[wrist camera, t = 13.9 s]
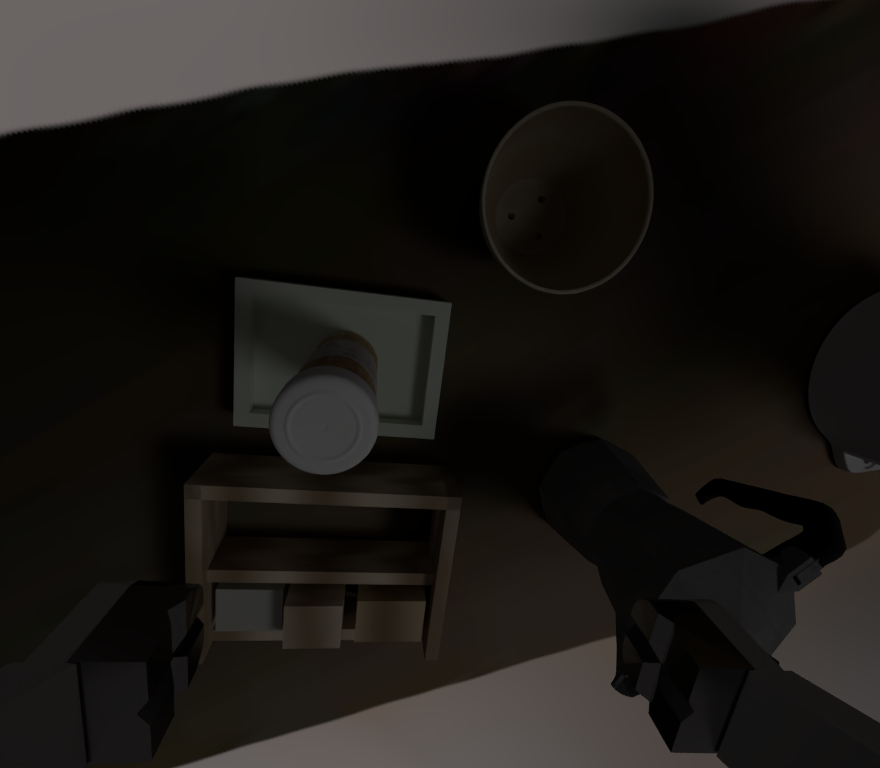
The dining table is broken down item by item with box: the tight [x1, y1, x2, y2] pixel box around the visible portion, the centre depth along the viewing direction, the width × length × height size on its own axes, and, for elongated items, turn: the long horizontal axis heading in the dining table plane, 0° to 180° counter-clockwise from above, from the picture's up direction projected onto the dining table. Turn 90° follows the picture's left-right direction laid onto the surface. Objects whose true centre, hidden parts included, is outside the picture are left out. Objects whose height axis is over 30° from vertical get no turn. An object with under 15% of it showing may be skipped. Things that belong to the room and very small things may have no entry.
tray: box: [233, 277, 452, 439], centre depth 31 cm, size 14×10×2 cm
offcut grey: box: [216, 582, 291, 631], centre depth 33 cm, size 5×4×4 cm
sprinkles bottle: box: [269, 332, 379, 475], centre depth 24 cm, size 5×5×13 cm
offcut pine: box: [283, 583, 346, 649], centre depth 33 cm, size 4×4×6 cm
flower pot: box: [479, 101, 654, 294], centre depth 27 cm, size 10×10×7 cm
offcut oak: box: [354, 584, 426, 642], centre depth 34 cm, size 5×4×5 cm
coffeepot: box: [538, 439, 847, 697], centre depth 28 cm, size 15×9×18 cm, turn 129°
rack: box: [184, 452, 462, 664], centre depth 33 cm, size 18×14×5 cm
